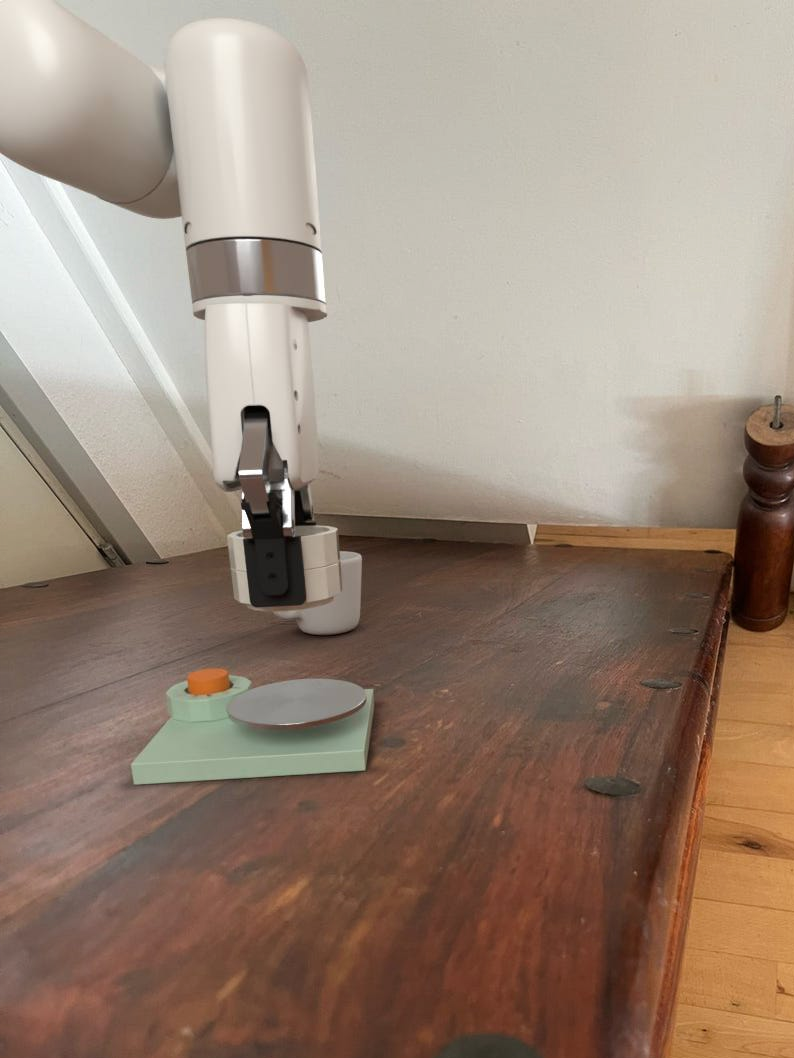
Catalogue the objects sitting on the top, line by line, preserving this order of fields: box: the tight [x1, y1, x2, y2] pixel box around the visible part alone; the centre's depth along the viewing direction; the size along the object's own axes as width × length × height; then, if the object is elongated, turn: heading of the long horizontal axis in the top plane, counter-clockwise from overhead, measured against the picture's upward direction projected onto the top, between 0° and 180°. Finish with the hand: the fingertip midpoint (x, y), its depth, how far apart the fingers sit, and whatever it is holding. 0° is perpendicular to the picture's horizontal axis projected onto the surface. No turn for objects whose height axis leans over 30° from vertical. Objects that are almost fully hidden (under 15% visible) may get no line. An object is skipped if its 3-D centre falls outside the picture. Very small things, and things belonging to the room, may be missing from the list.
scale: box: [130, 674, 375, 786], centre depth 53 cm, size 14×12×3 cm
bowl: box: [226, 524, 343, 612], centre depth 49 cm, size 7×7×4 cm
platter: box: [227, 678, 366, 730], centre depth 51 cm, size 9×9×1 cm
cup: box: [272, 550, 363, 636], centre depth 81 cm, size 11×8×8 cm
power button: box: [186, 668, 230, 695], centre depth 55 cm, size 3×3×1 cm
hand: (288, 590), depth 49 cm, fingers closed on bowl, 6 cm apart
